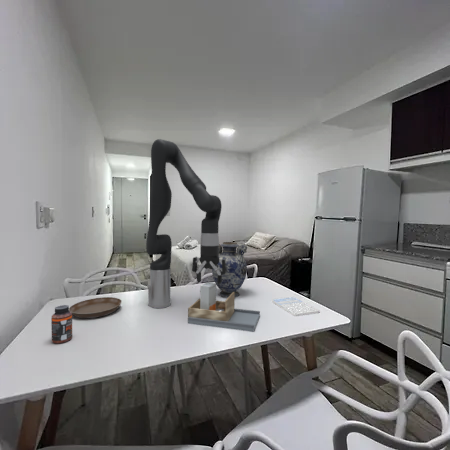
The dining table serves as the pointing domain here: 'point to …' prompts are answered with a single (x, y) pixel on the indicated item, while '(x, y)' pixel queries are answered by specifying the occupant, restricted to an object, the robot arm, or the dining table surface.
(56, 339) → the supplement bottle
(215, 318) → the wooden drawer
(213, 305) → the skincare box
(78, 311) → the plant saucer
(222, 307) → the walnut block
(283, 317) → the dining table surface
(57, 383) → the dining table surface
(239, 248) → the decorative vase
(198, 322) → the rail board
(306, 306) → the white flat textured slab
